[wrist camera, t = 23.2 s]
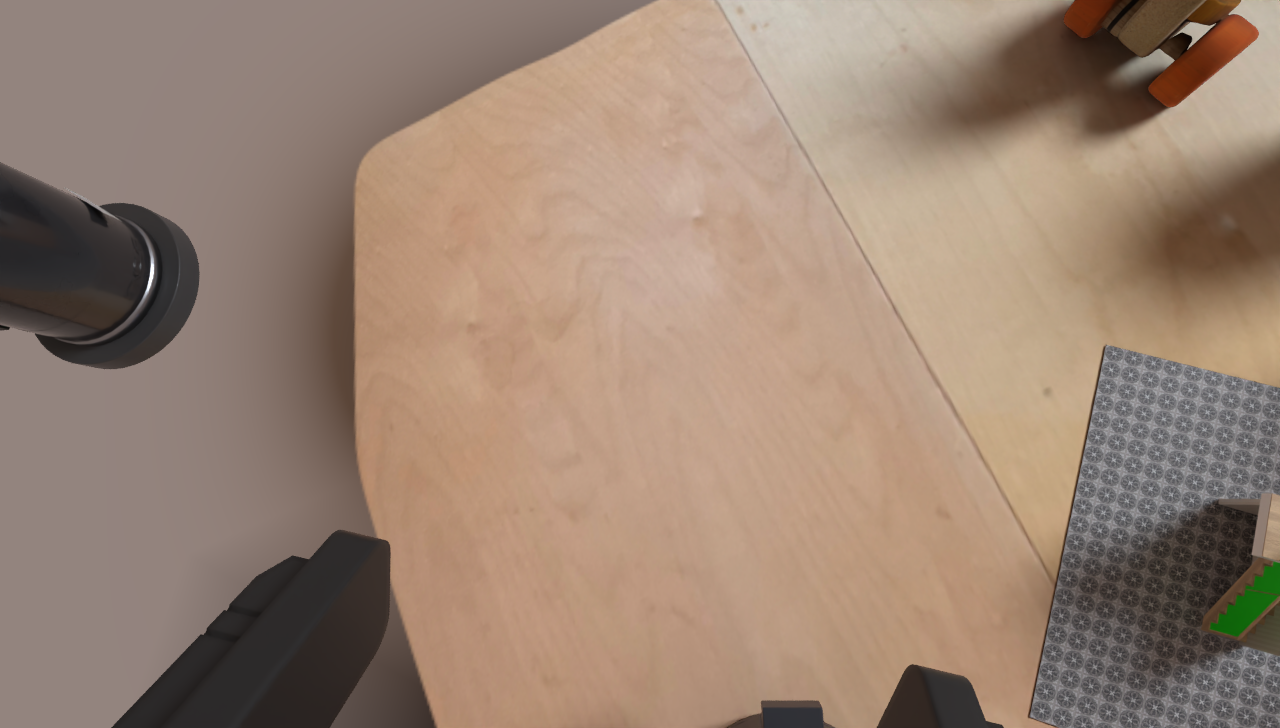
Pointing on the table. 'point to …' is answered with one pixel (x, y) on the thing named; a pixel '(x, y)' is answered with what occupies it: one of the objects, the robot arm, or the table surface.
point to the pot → (786, 716)
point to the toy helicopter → (1169, 36)
